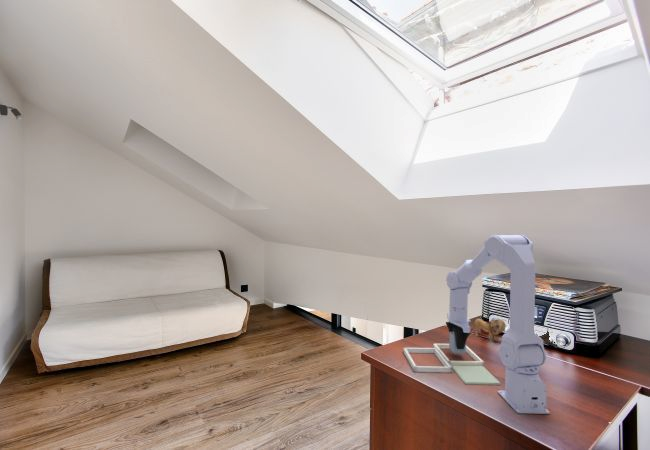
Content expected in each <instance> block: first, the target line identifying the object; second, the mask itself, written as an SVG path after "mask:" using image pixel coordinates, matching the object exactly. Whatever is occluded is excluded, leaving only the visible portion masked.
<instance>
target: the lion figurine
mask: <svg viewBox="0 0 650 450" xmlns="http://www.w3.org/2000/svg"><path fill="white" fill-rule="evenodd" d="M506 328H507V324H506V322H505V321H504V319H501V318H497V319H494V320H490V321H484V320H483V319H482V318H476V319H475V320H474V323H473V325H472V328H470V330H471V332H472V331H473V330H474V333H475V337H479V336H480V334H478V333H479V329H481V330H483V331H484V332H486V333H488V336H489V342H490V343H494V341H497V339H496V337H495V336H497V335H499V334H501V333H504V332H505V330H506Z"/></svg>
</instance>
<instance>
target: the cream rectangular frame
mask: <svg viewBox="0 0 650 450" xmlns="http://www.w3.org/2000/svg"><path fill="white" fill-rule="evenodd" d="M432 346H433V347H432V348H436V349H437V350H438V351H439V352H440V354H441V355H442V356H443V357H444V359H445V360H446V361H447V362H448V363H449V365H450V366H451V367H452V366H483V367H484V368H485V361H484V360H483V359H482V358H480V356H478V355H477V353H475V352H474V350H472V349H471V348H470V347H468V345H466V353H467V354H468V355H469V356H470V357H471V358H472V359H473V360H450V359H449V357H447V355H446V354H445V353H444V352H443V350H442V349H445V350H447V349H448V350H450V349H449V343H433V345H432Z"/></svg>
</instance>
